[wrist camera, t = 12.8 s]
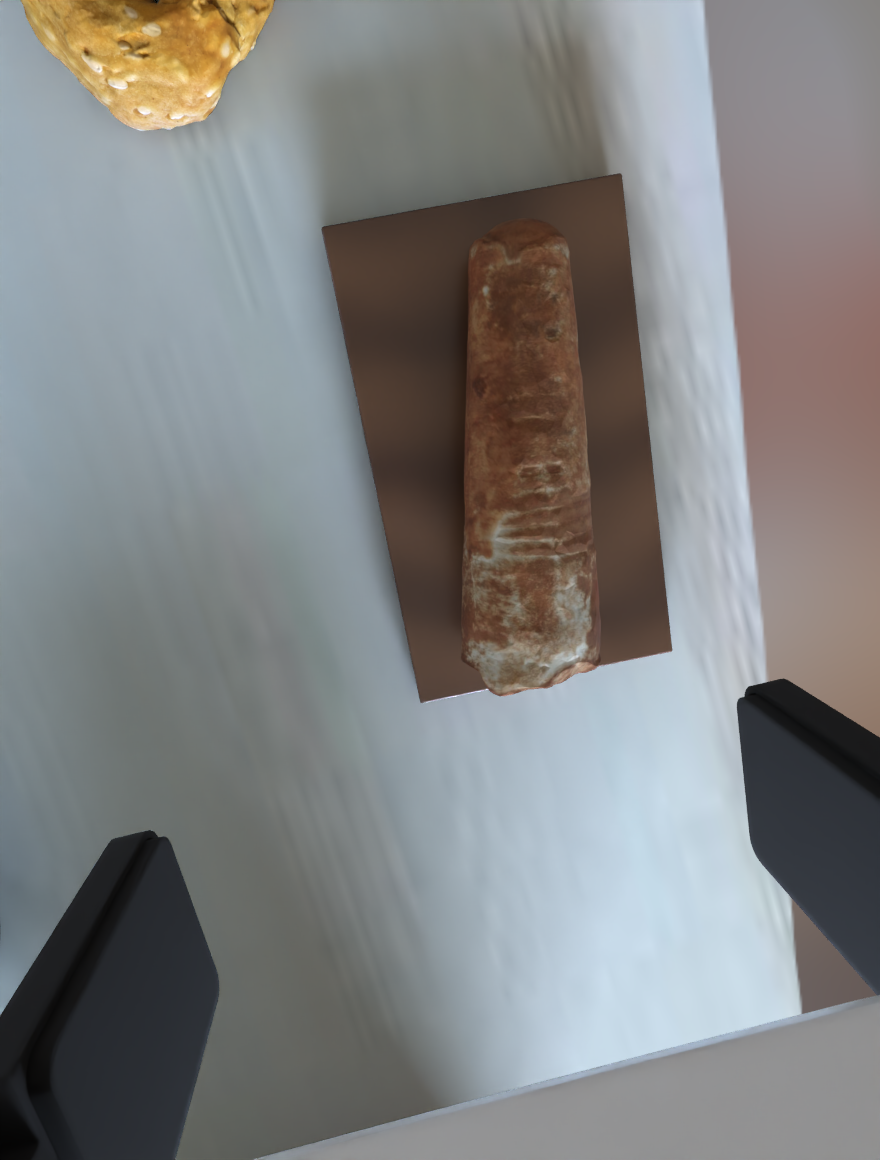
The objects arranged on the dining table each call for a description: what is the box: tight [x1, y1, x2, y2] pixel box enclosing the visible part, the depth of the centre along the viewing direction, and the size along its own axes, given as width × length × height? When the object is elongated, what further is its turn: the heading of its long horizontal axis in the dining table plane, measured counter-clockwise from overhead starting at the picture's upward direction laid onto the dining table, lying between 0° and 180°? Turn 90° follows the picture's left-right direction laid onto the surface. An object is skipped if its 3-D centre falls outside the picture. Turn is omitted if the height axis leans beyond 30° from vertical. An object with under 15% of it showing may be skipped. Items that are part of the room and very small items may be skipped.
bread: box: [461, 218, 601, 696], centre depth 28 cm, size 6×19×6 cm, turn 1°
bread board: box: [322, 173, 672, 703], centre depth 31 cm, size 22×13×2 cm, turn 11°
